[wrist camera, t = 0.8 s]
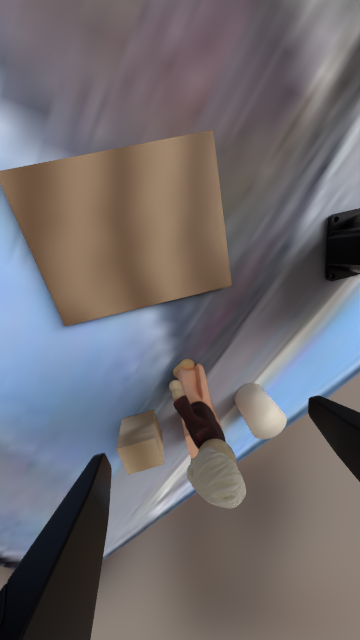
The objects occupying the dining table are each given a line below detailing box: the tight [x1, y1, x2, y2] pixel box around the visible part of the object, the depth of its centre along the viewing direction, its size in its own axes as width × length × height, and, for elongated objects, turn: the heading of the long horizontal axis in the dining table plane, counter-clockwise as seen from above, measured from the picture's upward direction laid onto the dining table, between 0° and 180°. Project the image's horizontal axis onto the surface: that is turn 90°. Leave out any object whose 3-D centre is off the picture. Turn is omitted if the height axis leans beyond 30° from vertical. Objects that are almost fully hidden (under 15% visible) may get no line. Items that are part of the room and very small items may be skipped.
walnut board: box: [0, 130, 232, 326], centre depth 17 cm, size 16×12×1 cm
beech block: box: [116, 410, 164, 475], centre depth 22 cm, size 4×4×4 cm
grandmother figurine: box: [169, 359, 246, 508], centre depth 17 cm, size 8×4×13 cm, turn 45°
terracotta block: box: [181, 402, 222, 459], centre depth 23 cm, size 4×4×4 cm
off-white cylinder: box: [234, 383, 286, 439], centre depth 23 cm, size 4×4×4 cm
